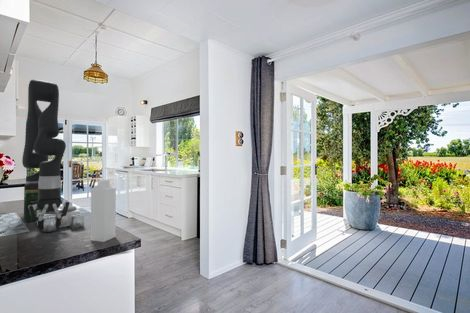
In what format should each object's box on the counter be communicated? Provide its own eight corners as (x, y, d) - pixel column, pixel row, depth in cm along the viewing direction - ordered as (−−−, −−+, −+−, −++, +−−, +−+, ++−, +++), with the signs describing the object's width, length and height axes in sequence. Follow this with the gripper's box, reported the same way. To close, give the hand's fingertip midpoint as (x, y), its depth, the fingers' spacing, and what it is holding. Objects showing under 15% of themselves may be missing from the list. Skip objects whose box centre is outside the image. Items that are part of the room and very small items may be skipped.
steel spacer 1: (40, 229, 106) (41, 217, 106) (55, 227, 110) (55, 215, 110) (42, 232, 103) (43, 219, 103) (57, 230, 106) (58, 217, 106)
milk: (90, 240, 95) (90, 180, 95) (102, 235, 101) (102, 179, 101) (104, 242, 94) (104, 181, 94) (115, 237, 100) (116, 179, 100)
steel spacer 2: (69, 227, 113) (69, 215, 113) (82, 225, 117) (82, 213, 117) (72, 229, 109) (72, 217, 109) (85, 227, 113) (85, 215, 113)
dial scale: (36, 223, 118) (36, 208, 118) (72, 218, 128) (72, 204, 128) (41, 230, 107) (42, 213, 107) (80, 224, 117) (80, 209, 117)
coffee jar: (45, 221, 122) (45, 181, 122) (23, 223, 117) (24, 182, 117) (44, 217, 130) (44, 180, 130) (23, 219, 125) (24, 181, 125)
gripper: (68, 184, 114) (67, 223, 114) (26, 187, 104) (25, 229, 104) (72, 186, 108) (71, 227, 108) (28, 189, 98) (28, 234, 99)
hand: (49, 228), depth 106 cm, fingers closed on steel spacer 1, 5 cm apart
